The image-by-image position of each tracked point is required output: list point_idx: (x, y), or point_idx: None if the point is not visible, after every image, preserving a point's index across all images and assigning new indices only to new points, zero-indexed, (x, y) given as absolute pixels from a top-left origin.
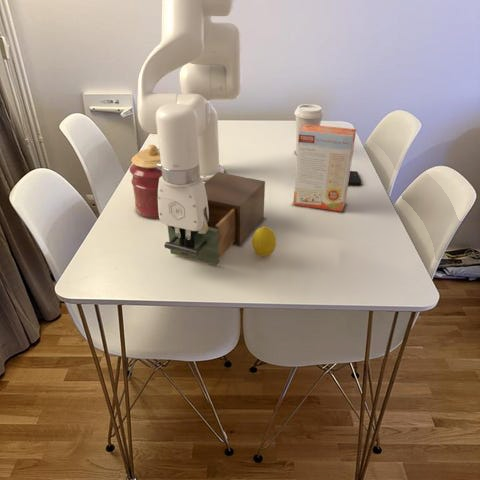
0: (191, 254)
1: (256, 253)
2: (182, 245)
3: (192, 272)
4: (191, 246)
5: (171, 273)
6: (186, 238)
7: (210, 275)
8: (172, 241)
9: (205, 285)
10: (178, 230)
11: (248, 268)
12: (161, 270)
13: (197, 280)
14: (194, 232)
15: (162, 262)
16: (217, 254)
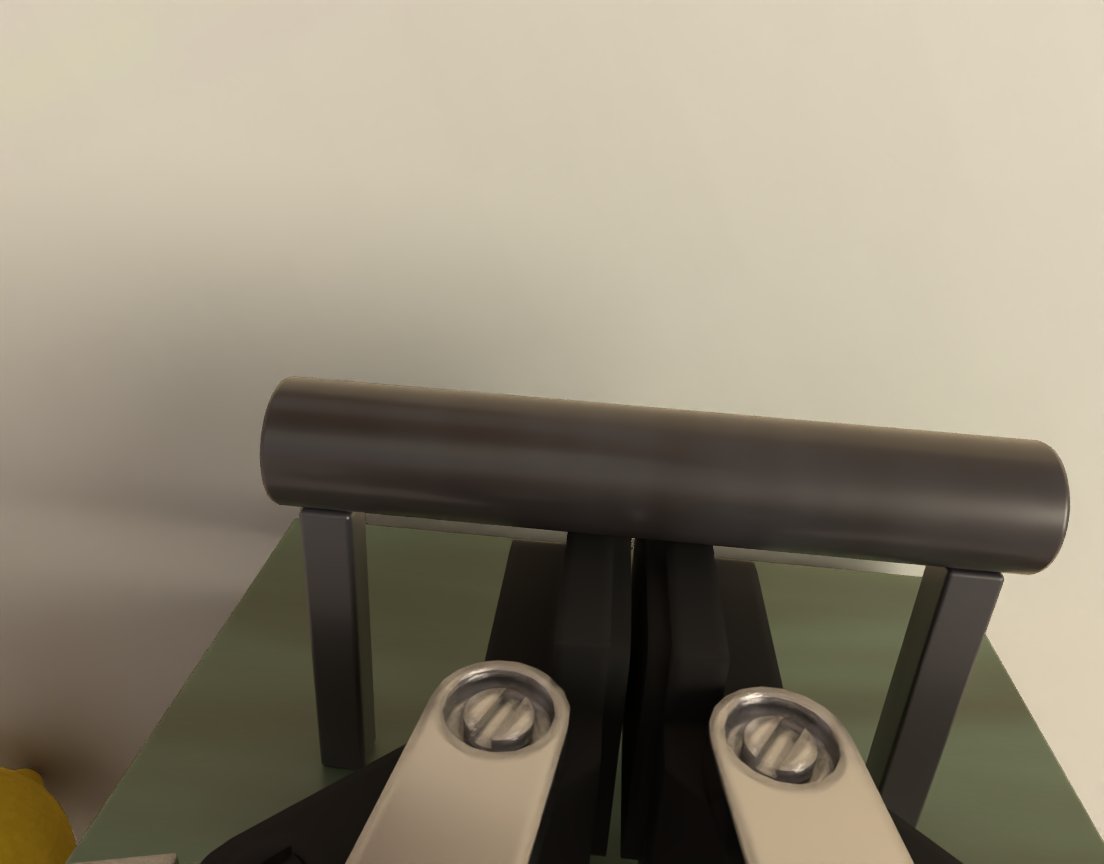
0: (409, 388)
1: (7, 782)
2: (663, 553)
3: (545, 339)
4: (504, 589)
5: (803, 227)
6: (544, 681)
7: (313, 353)
8: (928, 627)
9: (252, 131)
10: (785, 859)
11: (35, 588)
12: (969, 245)
13: (403, 200)
14: (266, 861)
15: (1013, 415)
16: (234, 622)
